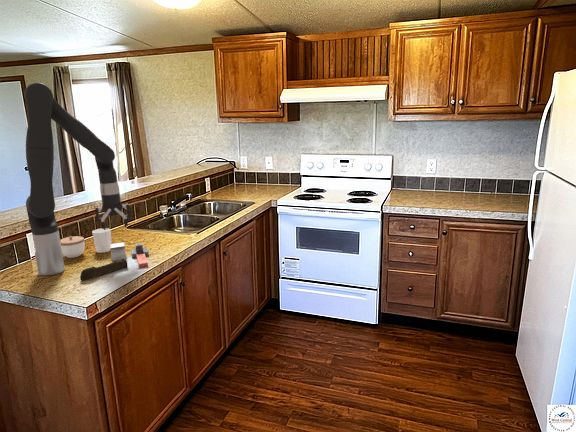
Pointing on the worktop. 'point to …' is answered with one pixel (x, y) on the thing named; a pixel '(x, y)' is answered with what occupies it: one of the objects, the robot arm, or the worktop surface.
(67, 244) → the lidded jar
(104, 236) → the white cup
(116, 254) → the white cube
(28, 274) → the worktop surface
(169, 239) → the worktop surface
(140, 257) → the red grey toy vehicle
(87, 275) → the hand tool
